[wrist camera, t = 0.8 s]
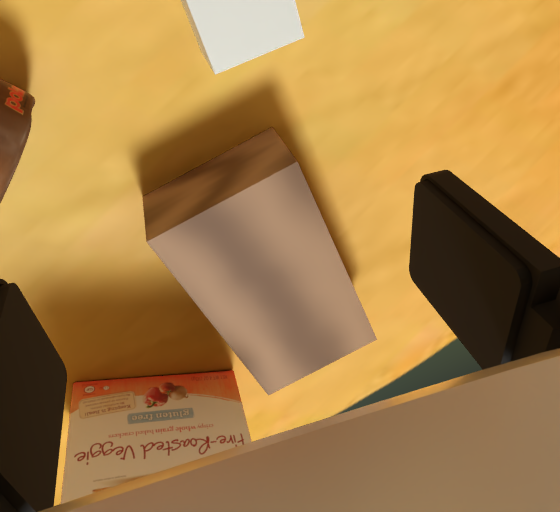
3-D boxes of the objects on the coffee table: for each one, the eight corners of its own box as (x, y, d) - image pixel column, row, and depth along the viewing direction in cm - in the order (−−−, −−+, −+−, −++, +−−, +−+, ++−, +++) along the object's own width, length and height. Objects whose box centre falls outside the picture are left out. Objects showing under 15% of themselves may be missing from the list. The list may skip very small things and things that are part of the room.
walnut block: (271, 125, 32) (297, 161, 28) (349, 293, 44) (376, 339, 39) (142, 194, 33) (146, 241, 28) (252, 343, 44) (268, 395, 39)
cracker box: (234, 364, 44) (303, 628, 28) (226, 407, 48) (284, 666, 31) (70, 377, 40) (38, 700, 24) (73, 423, 43) (47, 736, 27)
